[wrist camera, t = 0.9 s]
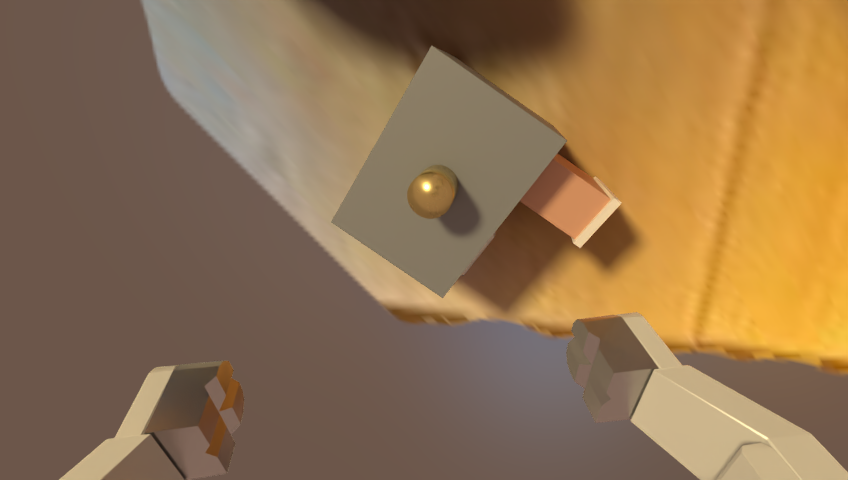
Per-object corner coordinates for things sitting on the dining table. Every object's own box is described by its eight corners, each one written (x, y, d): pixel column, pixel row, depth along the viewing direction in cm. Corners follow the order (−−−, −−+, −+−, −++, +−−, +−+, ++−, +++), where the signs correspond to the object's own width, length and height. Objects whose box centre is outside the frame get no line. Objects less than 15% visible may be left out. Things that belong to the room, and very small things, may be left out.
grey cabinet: (552, 125, 44) (567, 140, 32) (459, 248, 51) (442, 298, 39) (454, 56, 44) (431, 45, 32) (374, 190, 51) (331, 222, 39)
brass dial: (460, 166, 35) (453, 176, 31) (456, 207, 36) (450, 220, 32) (418, 163, 35) (407, 172, 32) (417, 203, 37) (406, 216, 33)
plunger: (601, 180, 45) (621, 202, 36) (568, 218, 47) (580, 248, 38) (507, 114, 44) (506, 121, 36) (478, 156, 46) (470, 172, 38)
